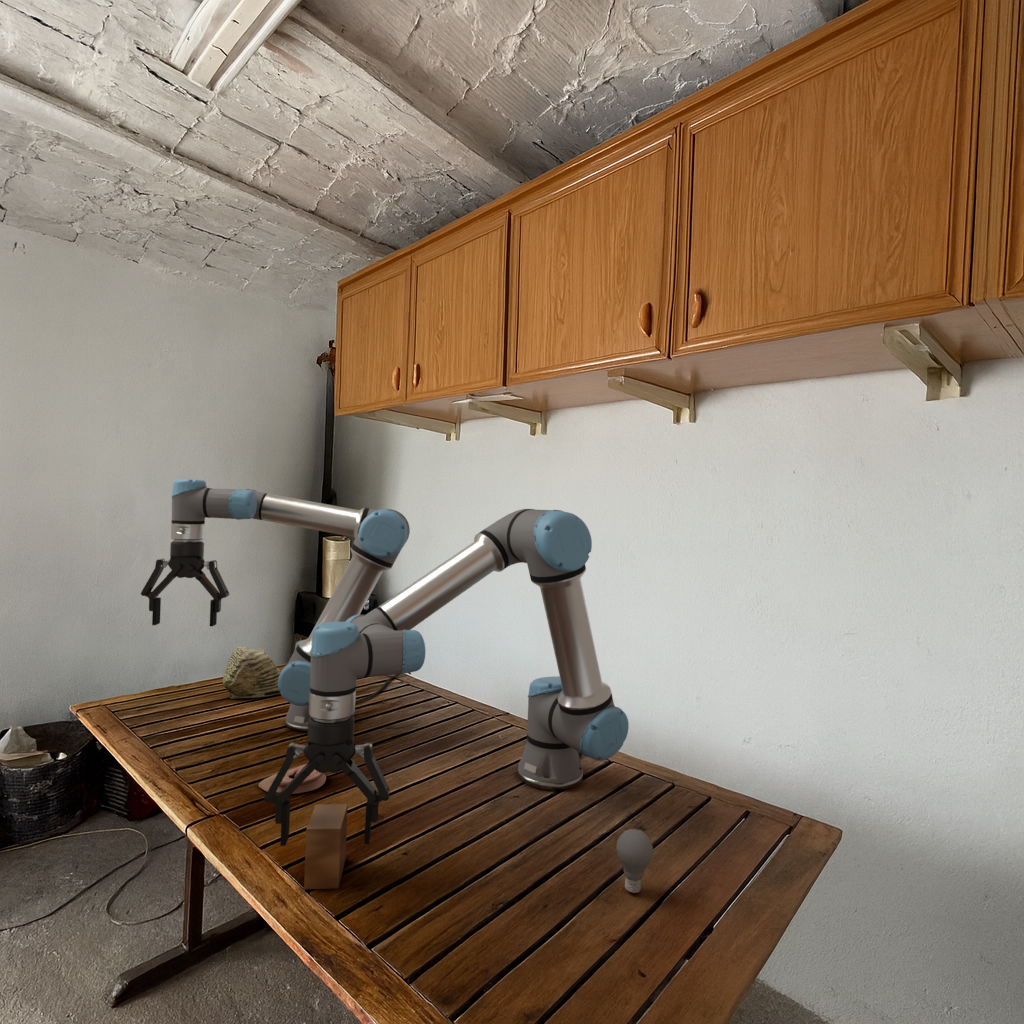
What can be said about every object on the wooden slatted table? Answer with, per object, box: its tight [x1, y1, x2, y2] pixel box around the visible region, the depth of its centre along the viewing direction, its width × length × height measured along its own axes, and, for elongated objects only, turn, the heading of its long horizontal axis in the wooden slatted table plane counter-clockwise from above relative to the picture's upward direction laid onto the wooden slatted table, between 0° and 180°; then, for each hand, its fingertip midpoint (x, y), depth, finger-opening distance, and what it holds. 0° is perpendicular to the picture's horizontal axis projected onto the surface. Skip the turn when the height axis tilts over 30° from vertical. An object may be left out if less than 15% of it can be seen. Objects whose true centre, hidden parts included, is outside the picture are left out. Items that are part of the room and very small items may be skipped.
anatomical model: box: [257, 763, 327, 795], centre depth 139 cm, size 13×4×12 cm
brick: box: [303, 803, 349, 890], centre depth 107 cm, size 5×8×10 cm, turn 7°
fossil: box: [222, 646, 281, 699], centre depth 198 cm, size 9×18×15 cm, turn 132°
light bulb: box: [615, 828, 654, 894], centre depth 106 cm, size 6×6×10 cm
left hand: (184, 624), depth 159 cm, fingers open, 13 cm apart
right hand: (326, 840), depth 107 cm, fingers open, 13 cm apart
